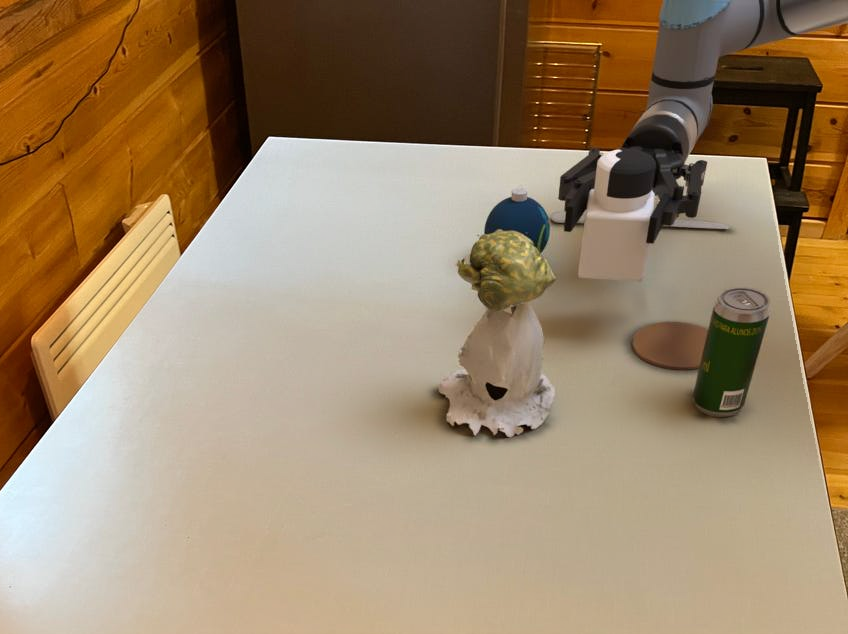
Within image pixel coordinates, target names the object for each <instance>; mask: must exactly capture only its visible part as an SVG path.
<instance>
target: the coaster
mask: <svg viewBox="0 0 848 634" xmlns="http://www.w3.org/2000/svg"><path fill="white" fill-rule="evenodd" d="M707 333H708V328H704V327H702V326H699V325H696V324H691V323H688V322H680V321H661V322H655V323H652V324H648V325H646V326H643V327H642V328H640V329H639V330H638V331H636V333H635V334H634V335H633V338H632V342H631V347H632V349H633V351H634V353H635V354H636V355H637V356H638V357H639V358H640V359H642V360H643V361H645V362H646V363H649V364H651V365H654V366H656V367H660V368H664V369H668V370H677V371H687V370H696V369H699V367H700V362H701V358H702V354H703V350H704V345H705V341H706V337H707Z"/></svg>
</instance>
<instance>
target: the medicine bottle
mask: <svg viewBox="0 0 848 634" xmlns="http://www.w3.org/2000/svg"><path fill="white" fill-rule="evenodd" d="M655 167H656V162H655V160H654V158H653V157H652V156H651V155H649V154H647V153H645V152H643V151H640V150H635V149H621V148H618V149H613V150H611V151H608V152H606V153H603V155H602V156H601V157H600V158H599V160H598V162H597V170H596V178H595V186H594V189H591V190H590V192H589V196H588V202H587V208H586V210H585V214H584V215H585V221H584V223H583V231H582V239H581V247H580V254H579V262H578V264H579V265H578V270H577V271H578V272H577V275H578V276H577V277H578V278H580V279H594V280H595V279H597V280H612V281H627V282H628V281H629V282H642V281H643V280H644V277H645V271H646V267H647V266H646V265H647V259H648V254H649V248H650V243H646V239H647V233H648V227H649V221H650V217H651V215H652V213H653V211H654V210H655V199H656V198H655V197H656V196H655V194H654V192H653V191H652V185H653V179H654V173H655Z"/></svg>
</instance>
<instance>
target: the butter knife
mask: <svg viewBox="0 0 848 634" xmlns="http://www.w3.org/2000/svg"><path fill="white" fill-rule="evenodd" d="M565 216H566V212H561V211H559V212H555V213H553V214H552V215H551V217H550V219H551V220H552V221H553V222H554V223H558V224H559V223H560V224H565ZM584 221H585V214H584V213H583V215H582V216H581V218H580V219H579V221H578V222H577V224H584ZM662 227H668V226H667V225H663V226H662ZM670 227H674V228H676V227H677V228H692V229H693V228H695V229H714V230H715V229H716V230H717V229H719V230H728V229H730V227H729V226H728V225H727V224H723V223H718V222H717V223H716V222H710V221H702V220H688V219H677V218H676V220H675V222H674V224H673V225H671V226H670Z"/></svg>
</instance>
